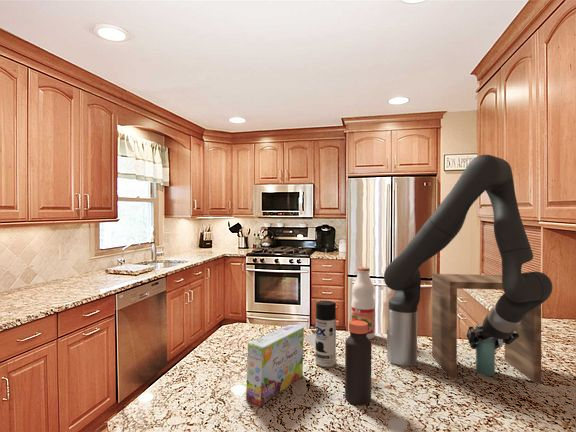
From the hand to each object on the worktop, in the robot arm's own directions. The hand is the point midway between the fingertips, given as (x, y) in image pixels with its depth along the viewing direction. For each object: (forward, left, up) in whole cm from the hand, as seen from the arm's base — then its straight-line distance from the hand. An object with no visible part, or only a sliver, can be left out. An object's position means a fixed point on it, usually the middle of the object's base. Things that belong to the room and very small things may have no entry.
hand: (482, 346), depth 111 cm
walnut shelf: (0, 0, -7) cm, 7 cm away
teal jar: (0, -2, -7) cm, 8 cm away
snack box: (-64, -19, -8) cm, 67 cm away
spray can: (-50, -1, -7) cm, 51 cm away
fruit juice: (-34, +28, -7) cm, 45 cm away
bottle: (-42, -23, -7) cm, 48 cm away
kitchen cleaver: (-54, +24, -8) cm, 60 cm away
